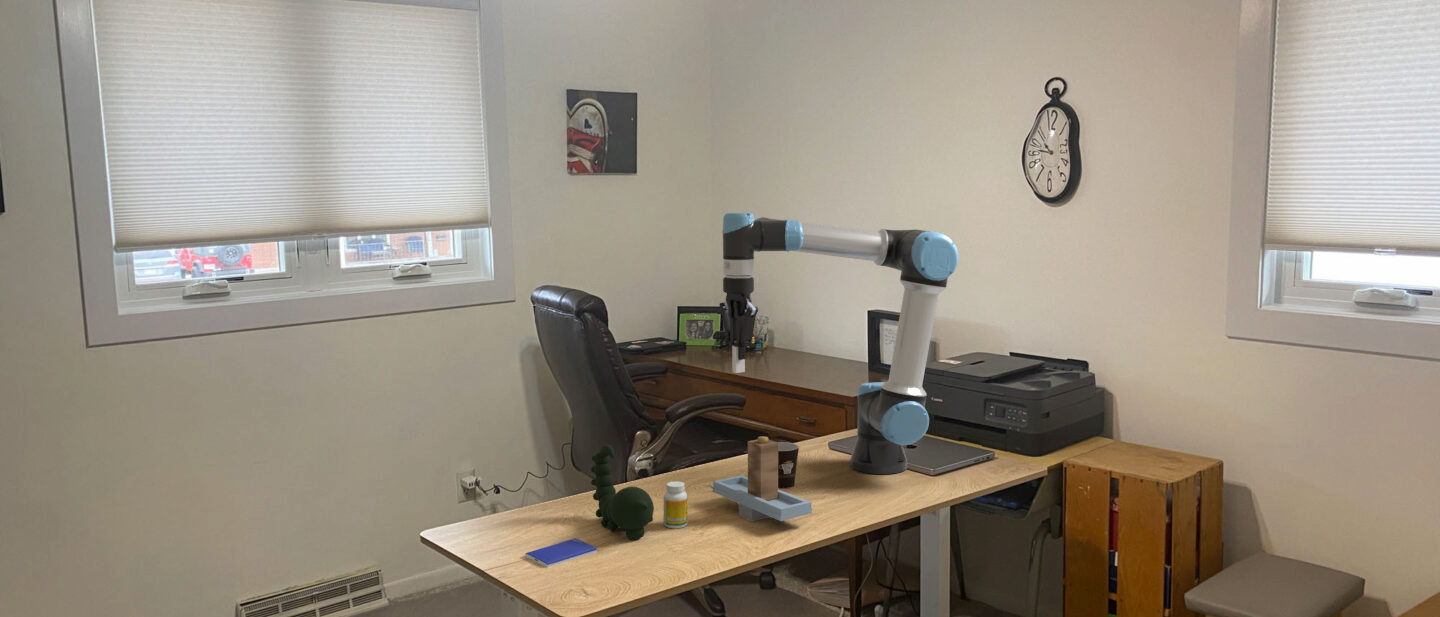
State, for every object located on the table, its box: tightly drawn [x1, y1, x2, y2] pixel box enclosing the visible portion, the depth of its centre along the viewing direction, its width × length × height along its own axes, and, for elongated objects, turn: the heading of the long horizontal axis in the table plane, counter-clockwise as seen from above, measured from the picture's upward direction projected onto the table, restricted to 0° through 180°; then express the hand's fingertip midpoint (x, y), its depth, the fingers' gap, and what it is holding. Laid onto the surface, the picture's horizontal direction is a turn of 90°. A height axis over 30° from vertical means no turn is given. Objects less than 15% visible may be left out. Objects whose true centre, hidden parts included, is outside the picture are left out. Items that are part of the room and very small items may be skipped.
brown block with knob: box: [747, 436, 779, 500], centre depth 238 cm, size 5×5×14 cm
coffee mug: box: [777, 441, 800, 489], centre depth 262 cm, size 12×9×10 cm
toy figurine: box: [590, 444, 655, 541], centre depth 228 cm, size 9×19×25 cm
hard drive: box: [524, 537, 598, 568], centre depth 215 cm, size 2×8×12 cm
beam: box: [712, 474, 813, 522], centre depth 239 cm, size 26×9×6 cm, turn 35°
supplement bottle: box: [663, 480, 688, 530], centre depth 232 cm, size 5×5×10 cm
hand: (738, 371), depth 253 cm, fingers closed
